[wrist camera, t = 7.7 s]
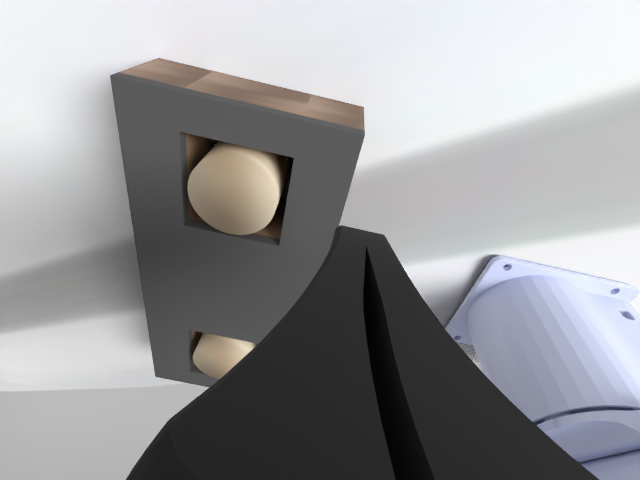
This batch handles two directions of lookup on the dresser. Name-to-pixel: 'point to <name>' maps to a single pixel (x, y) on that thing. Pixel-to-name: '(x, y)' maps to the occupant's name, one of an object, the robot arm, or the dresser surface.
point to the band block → (204, 240)
